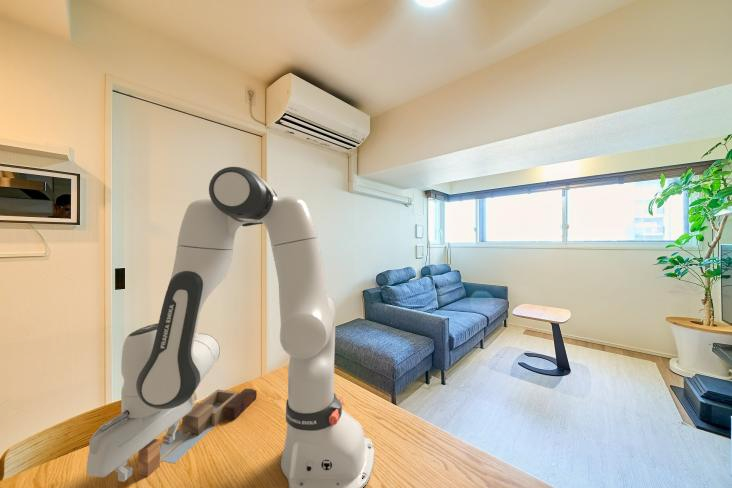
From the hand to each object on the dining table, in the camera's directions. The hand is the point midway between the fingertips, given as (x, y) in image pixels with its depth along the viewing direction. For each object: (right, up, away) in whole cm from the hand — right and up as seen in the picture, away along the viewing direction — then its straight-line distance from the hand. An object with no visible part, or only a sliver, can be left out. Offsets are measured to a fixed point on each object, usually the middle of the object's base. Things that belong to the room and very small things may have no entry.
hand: (149, 458), depth 56 cm
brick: (+10, -4, +21) cm, 24 cm away
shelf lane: (+3, -4, +13) cm, 14 cm away
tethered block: (+1, -3, +7) cm, 8 cm away
